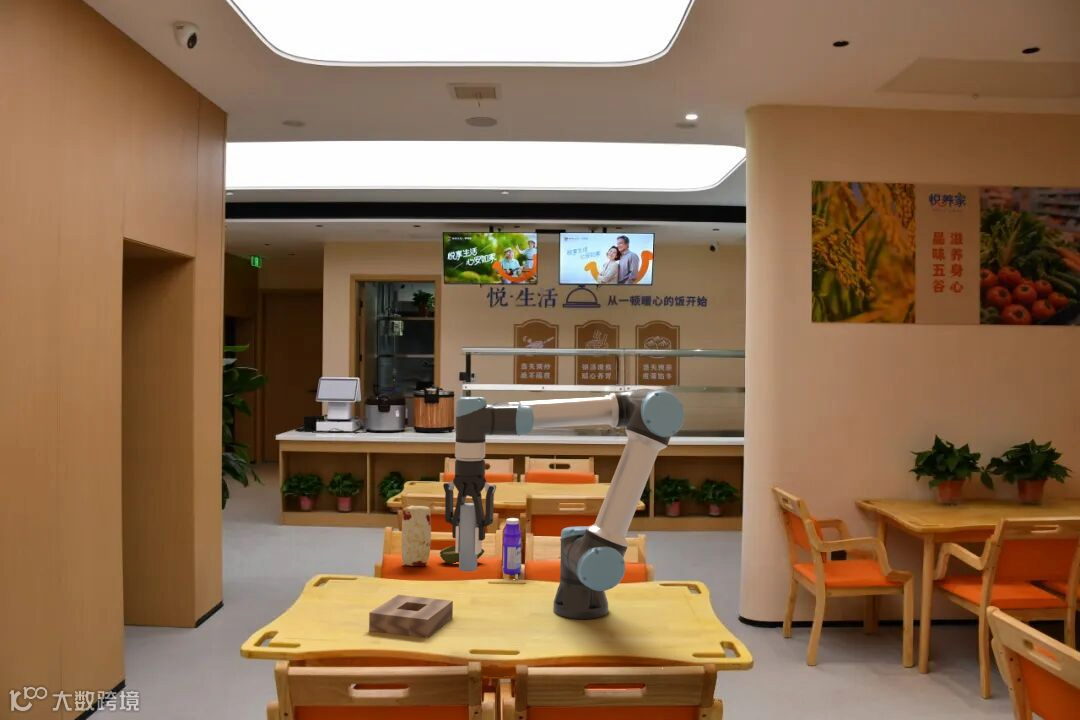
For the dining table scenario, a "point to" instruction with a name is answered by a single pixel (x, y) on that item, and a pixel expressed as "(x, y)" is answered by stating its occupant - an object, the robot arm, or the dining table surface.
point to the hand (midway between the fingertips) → (468, 552)
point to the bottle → (512, 547)
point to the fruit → (453, 555)
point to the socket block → (411, 616)
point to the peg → (467, 537)
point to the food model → (416, 535)
